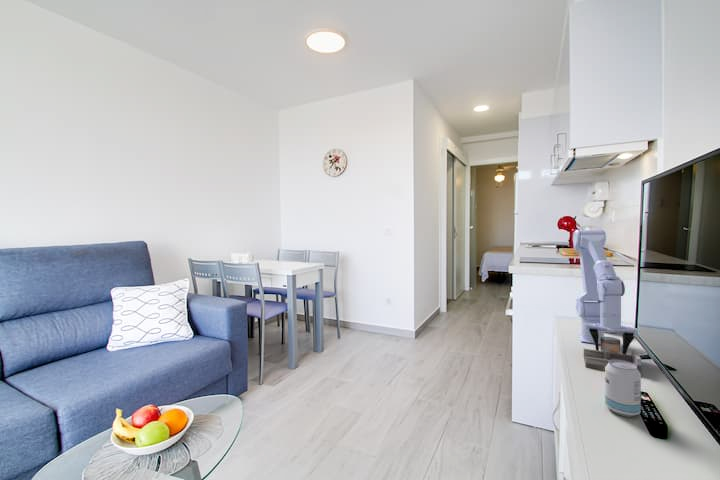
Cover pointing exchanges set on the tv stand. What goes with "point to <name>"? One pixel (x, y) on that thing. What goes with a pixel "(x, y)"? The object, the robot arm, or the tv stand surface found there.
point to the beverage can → (623, 388)
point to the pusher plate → (606, 353)
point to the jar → (610, 344)
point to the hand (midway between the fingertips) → (610, 352)
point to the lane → (598, 362)
